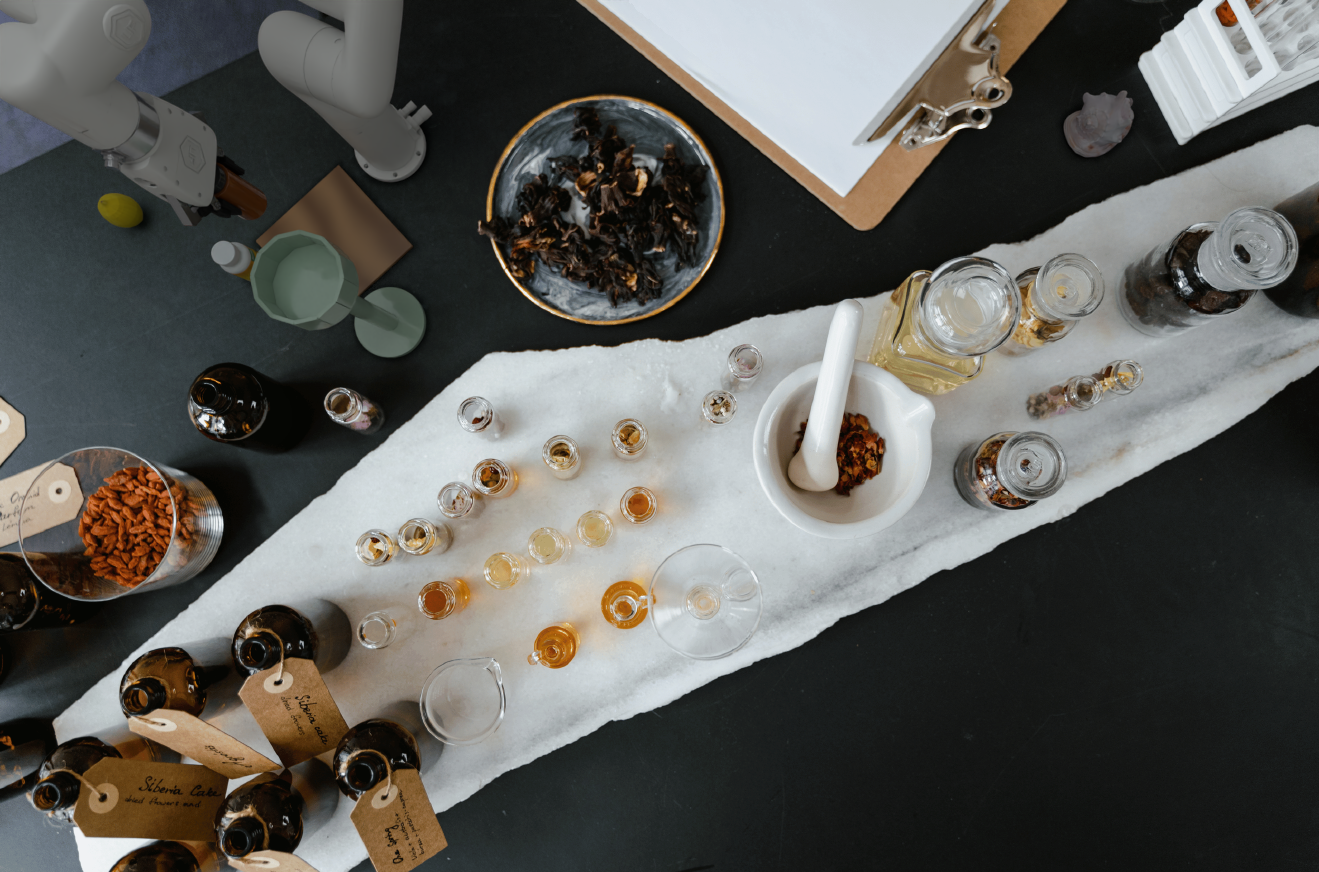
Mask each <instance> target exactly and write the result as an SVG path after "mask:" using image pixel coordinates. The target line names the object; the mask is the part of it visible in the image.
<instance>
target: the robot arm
mask: <svg viewBox="0 0 1319 872" xmlns="http://www.w3.org/2000/svg"><path fill="white" fill-rule="evenodd" d="M297 1H298V2H300V3H302V4H304V5H305V6H308V7H310V8H311V9H315V11H316V10H317V11H319V12H321V13H324V14H325V15H328V16H329V17H332V18H333V19H335V20H338V21H340V22H343V24H344V31H343V30H341V29H339V28H338V27H335V26H333V25H331V24H329V23H326V22H325V21H322V20H320V19H318V18H316V17H313V16H310V15H308V14H306V13H303V12H299V11H295V10H278V11H275V12H273V13H271V14H269V15H268V16H267V17H266V18H265V19H264V20H263V21H262V23H261V25H260V27H259V30H258V34H257V46H258V47H257V48H258V51H259V52H258V53H259V56H260V58H261V60H262V63H263V64H264V66H265V68H266V70H268V72H269V74H270V75H271V76H272V77H273V78H274V79H275V80H276V81H277V82H278V83H279V84H280V85H282V86H283V87H284V88H285V89H287V90H288V91H289V92H290V93H292V94H293V95H295V96H296V97H297V98H298V99H300V100H301V101H302V102H304V103H306V105H308V106H309V107H310V109H312V110H314V112H315V113H317V114H318V115H319V116H320V117H321V118H322V119H323V120H324V121H325V122H326V123H327V124H328V125H329V126H330V127H331V128H332V129H333V130H334V131H335V132H336V133H337V134H339V135H340V136H341V137H342V139H343V140H344V141H346V143H348V145H350V146H351V147H352V148H353V149H354V155H355V159H356V161H357V164H359V166H360V168H361V169H362V170H363V171H364V173H366V174H367V175H369V176H370V177H371V178H373V179H375V180H377V181H380V182H383V183H396V182H400V181H403V180H406V179H407V178H409V177H411V176H412V175H413V174H415V173H416V172H417V171H418V170H419V168H420V167H421V166H422V164H423V162H424V160H425V157H426V153H427V141H426V135H425V134H424V131H423V129H422V128H421V125H422V124H423V123H424V122H426V121H427V120H428V119H429V118H430V117H432V116H433V113H432V111H431V110H430V109H429V107H428V106H427V105H426V104H424V105H422V106H421V107H419V109H418V110H416V109H417V108H418V106H417V104H415V103H414V102H413V101H412V100H410V101H409V102H408V103H406V104H405V106H404V107H403V108H399V109H397V108H396V107H395V106H394V105H393V104H391V100H392V97H393V93H394V88H395V83H396V75H397V68H398V60H399V59H398V57H399V49H400V41H401V33H402V23H403V13H404V0H297ZM148 7H149V6H148V5H147V4H146V2H145V0H0V11H1V12H2V13H4V14H5V15H6V16H8V17H10V18H12V19H13V20H14V21H8V22H3V23H0V100H2V101H3V102H5V103H7V104H9V105H11V106H13V107H14V108H16V109H18V110H20V111H22V112H24V113H25V114H28V115H29V116H31V117H33V118H35V119H37V120H39V121H41V122H43V123H45V124H46V125H48V126H49V127H52V128H54V129H56V130H58V131H59V132H61V133H62V134H65V135H66V136H68V137H70V138H72V139H74V140H76V141H78V142H80V143H82V144H83V145H85V146H86V147H89V148H91V151H92V152H94V153H96V154H99V155H100V156H101V157H102V159H103V161H104V168H105V169H107V170H109V171H112V172H120V173H121V174H123V175H124V176H125V177H126V178H128V180H129V179H130V181H132V182H134V183H135V184H136V185H138V186H139V187H140V188H142V189H144V190H145V191H147V192H149V193H150V194H152V195H154V196H155V197H157V198H159V199H161V200H163V201H165V202H167V203H168V204H170V206H171V208H172V209H173V211H174V212H175V215H176V216H177V217H178V219H179V221H180V222H181V224H182V225H183V226H184V227H197V226H198V225H199V223H200V222H202V220H203V218H206V217H208V216H210V214H213V215H215V216H217V217H219V218H223V219H231V218H232V216H237V215H242V211H241V209H239V208H238V207H236V206H234V205H232V204H231V203H229V202H227V201H226V200H224V199H216V198H215V197H214V196H213V193H214V183H215V170H216V162H218V163H220V164H222V165H223V166H225V167H226V168H228V169H229V170H231V171H232V172H234V173H236V174H237V175H239V176H240V177H243V176H244V175H245V172H246V170H245V169H244V168H243V167H241V166H240V165H238V164H237V163H236V162H235V161H234V160H233V159H232V158H230V157H229V156H227V155H226V154H225V151H224V148H223V147H221V146H218V141H217V140H218V139H217V135H216V133H215V132H214V130H213V129H212V128H211V127H210V126H209V125H208V122H207V119H206V116H205V114H204V112H203V111H202V110H190V111H186V110H184V109H182V108H181V107H179V106H177V105H175V104H173V103H170V102H169V101H167V100H164V99H163V98H160V97H158V96H156V95H153V94H151V93H148V92H145V91H134V90H132V89H131V88H129V87H128V86H127V85H125V84H123V83H122V82H120V81H119V80H117V79H116V78H117V77H118V76H119V75H120V74H121V73H122V72H123V71H124V70H125V69H126V68H127V67H128V66H129V65H130V64H131V63H132V62H133V61H134V60H135V59H136V58H137V57H138V56H139V54H141V52H142V51H143V50H144V48H145V47H146V45H147V43H148V42H149V38H150V37H151V33H152V25H153V24H152V17H151V13H150V9H149V8H148ZM15 20H16V21H15ZM415 110H416V112H415V113H414V114H413V115H412V116H411V115H410V114H411V113H413V112H414V111H415Z"/></svg>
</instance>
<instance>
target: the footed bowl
mask: <svg viewBox="0 0 1319 872" xmlns="http://www.w3.org/2000/svg"><path fill="white" fill-rule="evenodd" d="M257 252H259V253H257V255H256V258H255V261H254V264H253V267H252V270H251V273H250V275H251V276H250V280H251V282H250V284H251V289H252V294H253V299H254V301H255V302H256V303H257V304H258V306H260V308H261V309H262V310H263V311H264V312H265V314H267V316H269V318H271V319H273V320H276V321H279V322H281V323H284V324H287V325H289V326H293V327H296V328H298V329H299V328H300V329H303V330H306V331H319V330H325V329H329V328H331V327H333V326H335V325H338V323H341V322H342V321H343V320H345V318H346V317H347V316H348V315H351V316H353V317H354V330H355V335H356V337H357V339H358V341H359V343H360V344H361V345H362V347H363V348H364V349H365V350H367V351H368V352H369V353H371V354H373V355H375V356H377V357H381V358H385V359H396V358H400V357H405V356H406V355H408V354H410V353H412V351H414V350H415V349H416V348H417V347H418V346H419V345H420V343H421V342H422V340H423V338H424V336H425V333H426V329H427V317H426V312H425V310H424V309H425V308H424V307H423V305H422V303H421V302H420V301H419V299H418V298H417V297H416V296H415V295H414V294H412V293H411V292H409V291H407V290H406V289H402V288H400V287H395V286H394V287H393V286H385V287H381V288H378V289H376V290H373V291H372V292H370V293H368V295H366V296H365V297H364V298H363V296H361V295H360V296H358V291H359V279H358V274H357V270H356V268H355V266H354V264H353V262H352V260H351V259H350V258H349V257H348V255H346V254H345V253H344V252H343V251H342V250H341V249H340V247H338V246H337V245H335V244H334V243H332V242H331V241H329V240H327V239H326V238H324V237H323V236H320V235H316V234H313V233H310V232H306V231H303V230H296V231H292V232H287V233H283V234H279V235H277V236H275V237H273V238H272V239H271V240H270V241H269V242H268V243H267V244H266V245H265V246H264V247H263V248H261V247H260V249H259V250H258V251H257Z"/></svg>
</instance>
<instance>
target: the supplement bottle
mask: <svg viewBox="0 0 1319 872" xmlns="http://www.w3.org/2000/svg"><path fill="white" fill-rule="evenodd" d="M210 251H211V252H210V254H211V259H212V260H213V261H214V263H216V264H217V265H219V266H220V268H221V269H222V270H224V272H227V273H229V274H230V275H234V276H236V277H239V278H241V279H243V280H245V281H248V282H250V283H251V280H250V276H251V275H250V273H251V270H252V267H253V264H254V261H255V258H256V255H257V253H259V252H258V251H257V250H255V249H253V248H251V247H249V246H247V245H245V244H243V243H241V242H238V241H237V242H236V241H231V242H230V241H229V240H220V241H218V242H216V243H215V244H214V245H213V246H212V248H211V250H210Z"/></svg>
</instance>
